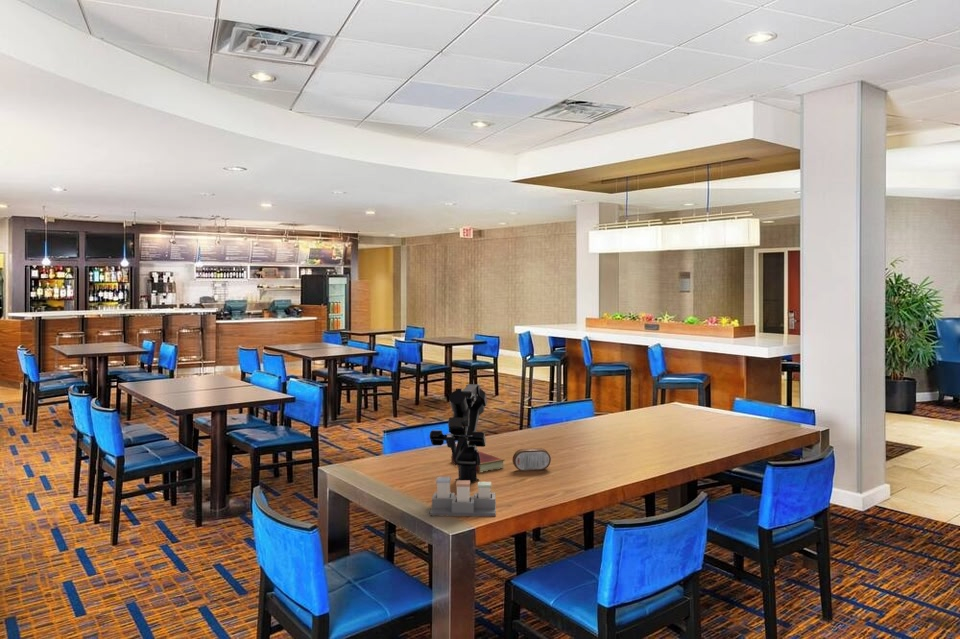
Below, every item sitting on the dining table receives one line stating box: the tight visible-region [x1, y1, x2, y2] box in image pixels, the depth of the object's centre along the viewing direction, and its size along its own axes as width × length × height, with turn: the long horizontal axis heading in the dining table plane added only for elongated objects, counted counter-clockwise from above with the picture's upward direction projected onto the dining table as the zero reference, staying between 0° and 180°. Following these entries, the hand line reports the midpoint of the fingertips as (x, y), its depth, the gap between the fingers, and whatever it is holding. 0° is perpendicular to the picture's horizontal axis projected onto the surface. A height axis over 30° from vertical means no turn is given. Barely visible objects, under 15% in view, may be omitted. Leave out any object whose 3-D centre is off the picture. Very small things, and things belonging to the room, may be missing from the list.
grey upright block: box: [435, 476, 452, 498], centre depth 211 cm, size 4×4×7 cm
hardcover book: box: [450, 449, 505, 473], centre depth 265 cm, size 12×21×4 cm, turn 33°
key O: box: [477, 481, 492, 498], centre depth 211 cm, size 4×4×7 cm
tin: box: [512, 447, 552, 472], centre depth 257 cm, size 15×3×8 cm, turn 100°
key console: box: [429, 492, 497, 517], centre depth 209 cm, size 11×20×4 cm, turn 88°
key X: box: [455, 480, 471, 502], centre depth 207 cm, size 4×4×7 cm
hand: (454, 460), depth 219 cm, fingers closed
